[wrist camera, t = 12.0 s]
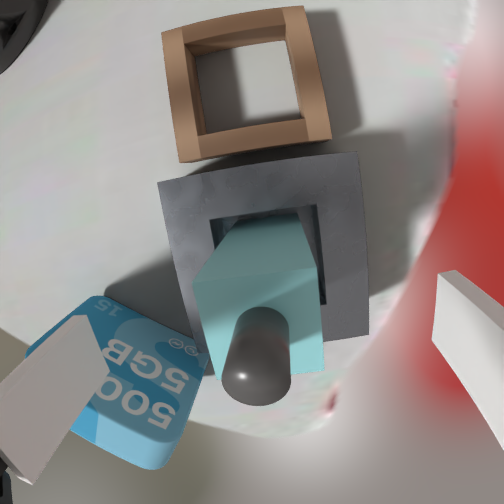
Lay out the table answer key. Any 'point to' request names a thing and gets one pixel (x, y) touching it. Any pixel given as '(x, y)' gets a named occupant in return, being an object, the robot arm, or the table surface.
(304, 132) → the square wooden frame
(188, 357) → the data package
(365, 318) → the port block
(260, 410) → the table surface
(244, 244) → the plug
